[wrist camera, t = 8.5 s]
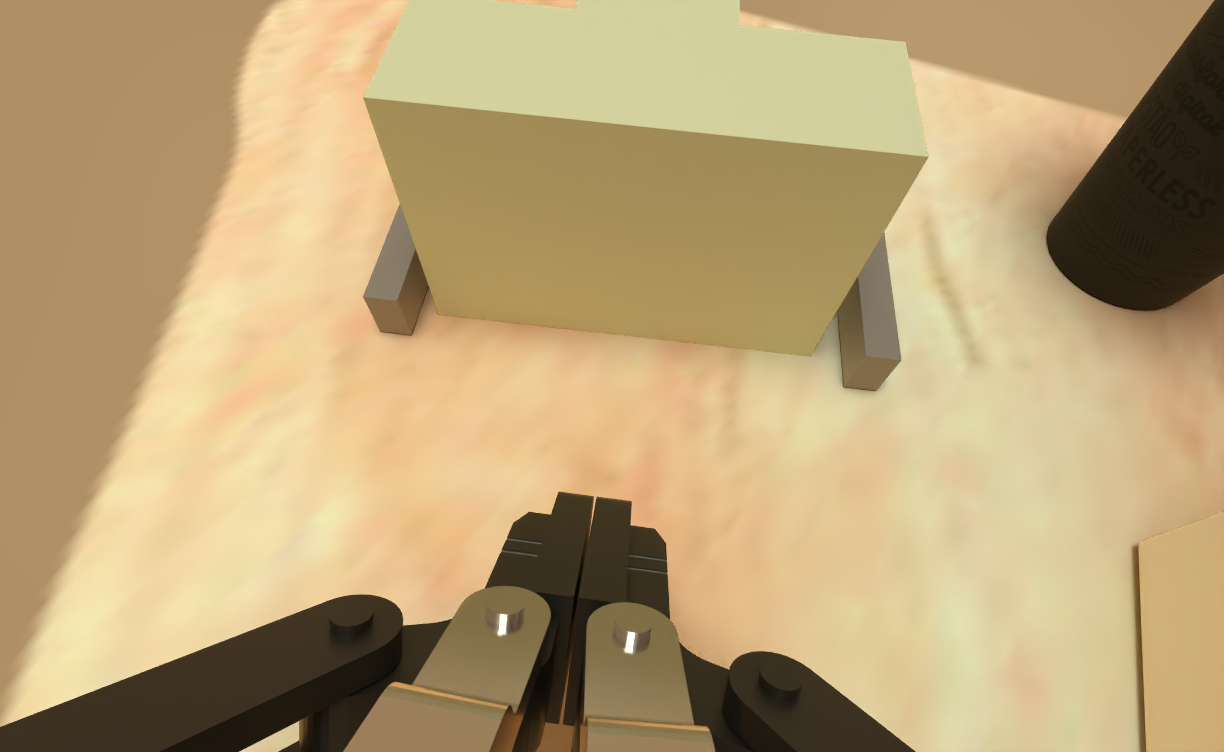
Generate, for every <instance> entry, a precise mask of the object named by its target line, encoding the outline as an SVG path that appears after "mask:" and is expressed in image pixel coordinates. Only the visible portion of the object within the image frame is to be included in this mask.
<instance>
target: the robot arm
mask: <svg viewBox="0 0 1224 752" xmlns="http://www.w3.org/2000/svg"><path fill="white" fill-rule="evenodd" d="M593 500H594V496H587V495H580V494H572V493H565V492H558V495H557V498H556V501H555V504H554V507H553V510H552V513H551V515H548V514H541V513H534V512H528V513H527V514H526V515H524V516H523V517H521V518H520V519H518V520H517V521H515V522H514V523H513V525H512V527H511V530H510V532H509V534H508V537H507V540H506V541H505V543H504V546H503V548H502V552H501V553H500V555H499V557H498V559H497V562H496V564H495V566H494V569H493V571H492V573H491V575H490V578H489V580H488V582H487V585H486V587H485V589H482V590H480V591H477V592H475V593H473V594H472V595H470V596H469V597H468V598H466V599H465V600H464V602H463V603H462V604H461V606H460V607H459V609H458V611H457V612H456V614H455V616H454V617H453V619H450V620H447V621H442V622H437V623H429V624H417V625H404V626H403V616H402V612H401V610H400V609H399V608H398V606H397V605H396V604H394V603H393V602H391V601H389V600H387V599H385V598H382V597H379V596H373V595H349V596H343V597H339V598H335V599H332V600H329V601H326V602H324V603H321V604H319V605H316V606H313V607H311V608H308V609H306V610H303V611H300V612H298V613H295V614H293V615H290V616H287V617H285V618H282V619H280V620H277V621H274V622H272V623H269V624H267V625H264V626H261V627H259V628H256V629H254V630H251V631H248V632H246V633H243V634H241V635H238V636H235V637H233V638H230V639H228V640H225V641H223V642H220V643H217V644H215V645H212V646H210V647H207V648H204V649H202V650H199V651H197V652H194V653H191V654H189V655H186V656H184V657H181V658H178V659H176V660H173V661H171V662H168V663H165V664H163V665H160V666H158V667H155V668H152V669H150V670H147V671H145V672H142V673H139V674H137V675H134V676H132V677H129V678H126V679H124V680H121V681H119V682H116V683H113V684H111V685H108V686H106V687H103V688H100V689H98V690H95V691H93V692H90V693H88V694H85V695H82V696H80V697H77V698H75V699H72V700H69V701H67V702H64V703H62V704H59V705H56V706H54V707H51V708H49V709H46V710H43V711H41V712H38V713H36V714H33V715H30V716H28V717H25V718H23V719H20V720H17V721H15V722H12V723H10V724H7V725H4V726H2V727H0V752H239V751H241V750H243V749H245V748H247V747H249V746H251V745H253V744H255V743H257V742H259V741H261V740H263V739H265V738H267V737H269V736H270V735H272V734H274V733H276V732H278V731H280V730H282V729H284V728H286V727H288V726H290V725H292V724H294V723H296V722H298V721H299V741H297V742H296V743H294V744H292V745H290V746H288V747H286V748H284V749H282V750H281V751H279V752H536V750H537V748H538V747H539V745H540V742H541V739H542V735H543V730H544V725H545V722H548V723H555V724H559V720H560V714H561V709H562V703H563V697H564V692H565V686H566V680H567V675H568V669H569V663H570V670H569V679H568V687H567V695H566V704H565V712H564V720H563V724H564V725H571V726H574V731H573V739H572V747H571V752H915V751H914V750H913V749H911V748H910V747H909V746H908V745H906V744H905V743H904V742H902V741H901V740H900V739H899V738H897V737H896V736H895V735H894V734H892V733H891V732H890V731H888V730H887V729H886V728H885V727H883V726H882V725H881V724H880V723H878V722H877V721H876V720H874V719H873V718H872V717H871V716H869V715H868V714H867V713H865V712H864V711H863V710H862V709H860V708H859V707H858V706H857V705H855V704H854V703H853V702H851V701H850V700H849V699H848V698H846V697H845V696H844V695H842V694H841V693H840V692H839V691H837V690H836V689H835V688H834V687H832V686H831V685H830V684H828V683H827V682H826V681H825V680H823V679H822V678H821V677H819V676H818V675H817V674H816V673H814V672H813V671H812V670H811V669H809V668H808V667H806V666H805V665H803V664H802V663H800V662H798V661H796V660H794V659H792V658H789V657H787V656H784V655H781V654H777V653H772V652H764V651H760V652H750V653H746V654H743V655H741V656H739V657H738V658H737V659H735V660H734V661H733V663H732V664H731V666H730V670H728V669H726V668H723V667H721V666H718V665H715V664H713V663H710V662H708V661H705V660H703V659H701V658H699V657H697V656H696V655H694V654H693V653H691V652H690V651H688V650H687V649H686V648H685V647H684V646H682V645H681V643H680V642H679V639H678V634H677V630H676V628H675V626H674V625H673V623H672V622H671V621H670V611H669V592H668V575H667V562H666V561H667V555H666V543H665V542H664V540H663V539H662V538H661V536H660V535H659V534H658V532H657V531H656V530H655V529H653V528H645V527H638V526H630V522H631V505H632V501H625V500H618V499H610V498H603V497H597V498H596V503H595V509H594V514H593V520H592V525H591V518H592V509H593ZM590 526H591V531H590ZM589 534H590V536H589ZM571 652H572V654H571ZM570 658H571V662H570Z"/></svg>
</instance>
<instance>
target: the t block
mask: <svg viewBox="0 0 1224 752" xmlns="http://www.w3.org/2000/svg"><path fill="white" fill-rule="evenodd" d="M739 15H740V0H577V3H576V7H575V8H565V7H555V6H545V5H535V4H525V3H515V2H506V1H496V0H409V2H408V4H407V6H406V8H405V10H404V12H403V14H402V16H401V18H400V21H399V23H398V25H397V27H396V29H395V31H394V33H393V35H392V37H391V40H390V42H389V44H388V46H387V48H386V50H385V52H384V54H383V56H382V59H381V61H380V63H379V65H378V67H377V69H376V71H375V73H374V75H373V78H372V80H371V82H370V84H369V86H368V88H367V90H366V92H365V94H364V97H363V98H364V101H365V104H366V107H367V110H368V113H369V116H370V118H371V121H372V124H373V127H374V130H375V133H376V136H377V139H378V141H379V144H380V147H381V150H382V153H383V156H384V159H385V162H386V165H387V167H388V170H389V173H390V176H391V179H392V182H393V185H394V188H395V190H396V193H397V196H398V199H399V202H400V205H401V208H402V211H403V213H404V216H405V219H406V222H407V225H408V228H409V231H410V234H411V237H412V239H413V242H414V245H415V248H416V251H417V254H418V257H419V260H420V262H421V265H422V268H423V271H424V274H425V277H426V280H427V283H428V285H429V288H430V291H431V294H432V297H433V300H434V303H435V306H436V309H437V311H438V314H439V315H447V316H456V317H464V318H473V319H482V320H491V321H500V322H509V323H518V324H527V325H536V326H544V327H553V328H562V329H571V330H580V331H589V332H598V333H607V334H616V335H624V336H633V337H642V338H651V339H660V340H669V341H678V342H687V343H696V344H705V345H713V346H722V347H731V348H740V349H749V350H758V351H767V352H776V353H785V354H793V355H802V356H811V354H812V352H813V351H814V349H815V347H816V346H817V344H818V342H819V340H820V339H821V337H822V335H823V334H824V332H825V330H826V329H827V327H828V325H829V324H830V322H831V320H832V319H833V317H834V315H835V314H836V312H837V310H838V308H839V307H840V305H841V303H842V302H843V300H844V298H845V297H846V295H847V293H848V292H849V290H850V288H851V287H852V285H853V283H854V282H855V280H856V278H857V276H858V275H859V273H860V271H861V270H862V268H863V266H864V265H865V263H866V261H867V260H868V258H869V256H870V255H871V253H872V251H873V249H874V248H875V246H876V244H877V243H878V241H879V239H880V238H881V236H882V234H883V233H884V231H885V229H886V228H887V226H888V224H889V223H890V221H891V219H892V217H893V216H894V214H895V212H896V211H897V209H898V207H899V206H900V204H901V202H902V201H903V199H904V197H905V196H906V194H907V192H908V190H909V189H910V187H911V185H912V184H913V182H914V180H915V179H916V177H917V175H918V174H919V172H920V170H921V169H922V167H923V165H924V164H925V162H926V160H927V158H928V152H927V147H926V142H925V137H924V132H923V127H922V122H921V117H920V112H919V107H918V102H917V97H916V92H915V87H914V82H913V77H912V72H911V67H910V63H909V58H908V53H907V48H906V43H905V42H900V41H890V40H881V39H871V38H861V37H851V36H841V35H831V34H821V33H812V32H802V31H792V30H782V29H772V28H762V27H752V26H742V25H739Z"/></svg>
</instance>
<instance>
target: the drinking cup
mask: <svg viewBox="0 0 1224 752" xmlns="http://www.w3.org/2000/svg"><path fill="white" fill-rule="evenodd" d="M1047 241H1048V247H1049V250H1050V253H1051V255H1052V257H1053V259H1054V261H1055V262H1056V264H1057V265H1058V266H1059V268H1060V269H1061V270H1062V271H1063V272H1064V274H1065V275H1066V276H1067V277H1068V278H1069V279H1070V280H1072V281H1073V282H1074V283H1075V284H1076V285H1078V286H1079V287H1080V288H1082V289H1083V290H1085V291H1086V292H1088V293H1090V294H1091V295H1093V296H1095V297H1097V298H1099V299H1101V300H1104V301H1106V302H1108V303H1111V304H1114V305H1117V306H1121V307H1125V308H1130V309H1137V310H1154V309H1160V308H1164V307H1167V306H1170V305H1172V304H1174V303H1176V302H1177V301H1179V300H1181V299H1182V298H1184V297H1186V296H1187V295H1189V294H1191V293H1192V292H1194V291H1196V290H1197V289H1199V288H1201V287H1202V286H1204V285H1206V284H1207V283H1209V282H1211V281H1212V280H1214V279H1216V278H1217V277H1219V276H1220V275H1222V274H1224V0H1214V2H1213V3H1212V4H1211V6H1210V7H1209V9H1208V10H1207V11H1206V13H1205V14H1204V15H1203V17H1202V18H1201V19H1200V21H1199V22H1198V24H1197V25H1196V26H1195V28H1194V29H1193V30H1192V32H1191V33H1190V34H1189V36H1188V37H1187V38H1186V40H1185V41H1184V42H1183V44H1182V45H1181V47H1180V48H1179V49H1178V51H1177V52H1176V53H1175V55H1174V56H1173V57H1172V59H1171V60H1170V61H1169V63H1168V64H1167V66H1166V67H1165V69H1164V70H1163V71H1162V73H1161V74H1160V75H1159V76H1158V78H1157V79H1156V81H1155V82H1154V83H1153V85H1152V86H1151V87H1150V89H1149V90H1148V92H1147V93H1146V94H1145V96H1144V97H1143V98H1142V100H1141V101H1140V102H1139V104H1138V105H1137V107H1136V108H1135V109H1134V110H1133V112H1132V113H1131V115H1130V116H1129V117H1128V119H1127V120H1126V121H1125V123H1124V124H1123V125H1122V127H1121V128H1120V129H1119V131H1118V132H1117V134H1116V135H1115V136H1114V138H1113V139H1112V140H1111V142H1110V143H1109V144H1108V146H1107V147H1106V148H1105V150H1104V151H1103V153H1102V154H1101V155H1100V157H1099V158H1098V159H1097V161H1096V162H1095V163H1094V165H1093V166H1092V168H1091V169H1090V170H1089V172H1088V173H1087V174H1086V176H1085V177H1084V178H1083V180H1082V181H1081V182H1080V184H1079V185H1078V187H1077V188H1076V189H1075V191H1074V192H1073V193H1072V195H1071V196H1070V197H1069V199H1068V200H1067V201H1066V203H1065V204H1064V206H1063V207H1062V208H1061V210H1060V211H1059V212H1058V214H1057V215H1056V216H1055V218H1054V219H1053V221H1052V222H1051V224H1050V226H1049V229H1048V235H1047Z"/></svg>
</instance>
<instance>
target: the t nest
mask: <svg viewBox="0 0 1224 752" xmlns="http://www.w3.org/2000/svg"><path fill="white" fill-rule="evenodd" d="M427 287H428V283H427V280H426V277H425V274H424V271H423V268H422V265H421V262H420V260H419V257H418V254H417V251H416V248H415V245H414V242H413V239H412V237H411V234H410V231H409V228H408V225H407V222H406V219H405V216H404V213H403V211H402V208H401V205H400V204H399V207H398V210H397V212H396V215H395V217H394V220H393V222H392V225H391V227H390V230H389V232H388V235H387V237H386V240H385V243H384V245H383V248H382V250H381V253H380V255H379V258H378V260H377V263H376V265H375V268H374V270H373V273H372V275H371V278H370V281H369V283H368V286H367V288H366V291H365V293H364V296H363V297H364V299H365V301H366V303H367V305H368V307H369V309H370V312H371V314H372V316H373V318H374V320H375V322H376V324H377V326H378V328H379V330H380V331H381V332H390V333H398V334H406V335H412V332H413V329H414V326H415V323H416V320H417V317H418V314H419V311H420V308H421V305H422V302H423V299H424V296H425V293H426V290H427ZM838 320H839V333H840V346H841V359H842V372H843V384H844V387H850V388H858V389H867V390H875V391H876V390H877V389H878V388H879V386H880V385H881V384H882V383H883V382H884V380H885V379H886V378H887V377H888V376H889V374H890V373H891V372H892V371H893V370H894V368H895V367H896V366H897V365H898V364H899V362H900V361H901V354H900V347H899V339H898V332H897V324H896V317H895V310H894V302H893V295H892V287H891V280H890V272H889V265H888V257H887V250H886V242H885V235H884V233H883V234H882V236H881V238H880V239H879V241H878V243H877V244H876V246H875V248H874V249H873V251H872V253H871V255H870V256H869V258H868V260H867V261H866V263H865V265H864V266H863V268H862V270H861V271H860V273H859V275H858V276H857V278H856V280H855V282H854V283H853V285H852V287H851V288H850V290H849V292H848V293H847V295H846V297H845V298H844V300H843V302H842V303H841V305H840V307H839V308H838Z"/></svg>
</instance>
